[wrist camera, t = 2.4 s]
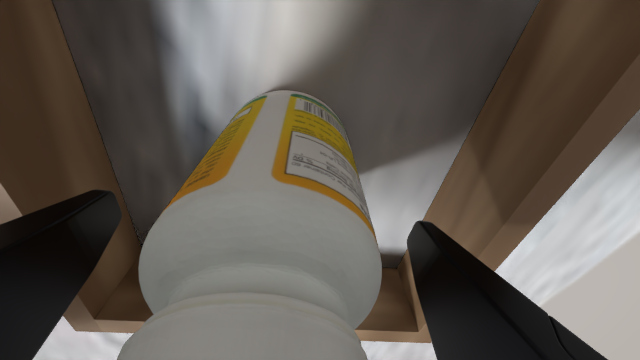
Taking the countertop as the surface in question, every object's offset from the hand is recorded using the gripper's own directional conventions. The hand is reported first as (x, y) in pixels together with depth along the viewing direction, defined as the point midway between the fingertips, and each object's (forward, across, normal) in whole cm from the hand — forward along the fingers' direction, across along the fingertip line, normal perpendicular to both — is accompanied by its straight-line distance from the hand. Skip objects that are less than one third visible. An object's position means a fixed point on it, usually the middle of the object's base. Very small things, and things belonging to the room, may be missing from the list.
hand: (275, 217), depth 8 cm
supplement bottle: (+5, 0, 0) cm, 5 cm away
